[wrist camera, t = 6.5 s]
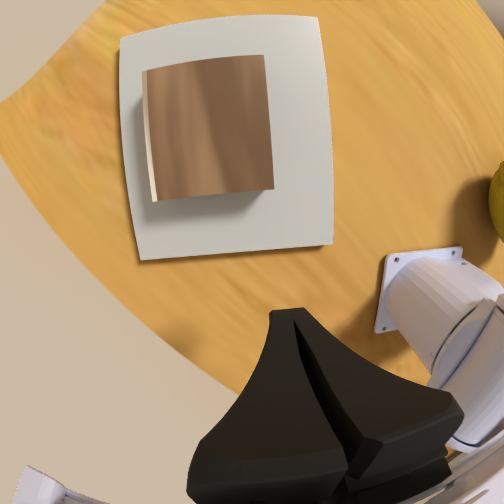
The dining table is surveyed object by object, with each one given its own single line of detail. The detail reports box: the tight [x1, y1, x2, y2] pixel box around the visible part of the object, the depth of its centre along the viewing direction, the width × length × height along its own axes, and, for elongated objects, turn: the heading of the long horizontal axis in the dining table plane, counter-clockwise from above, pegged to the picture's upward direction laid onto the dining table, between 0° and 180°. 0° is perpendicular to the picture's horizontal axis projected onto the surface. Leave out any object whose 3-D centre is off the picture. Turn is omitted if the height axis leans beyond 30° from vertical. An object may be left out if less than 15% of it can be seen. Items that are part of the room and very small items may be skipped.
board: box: [119, 15, 334, 260], centre depth 16 cm, size 14×17×1 cm
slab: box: [142, 55, 274, 202], centre depth 15 cm, size 3×8×7 cm
